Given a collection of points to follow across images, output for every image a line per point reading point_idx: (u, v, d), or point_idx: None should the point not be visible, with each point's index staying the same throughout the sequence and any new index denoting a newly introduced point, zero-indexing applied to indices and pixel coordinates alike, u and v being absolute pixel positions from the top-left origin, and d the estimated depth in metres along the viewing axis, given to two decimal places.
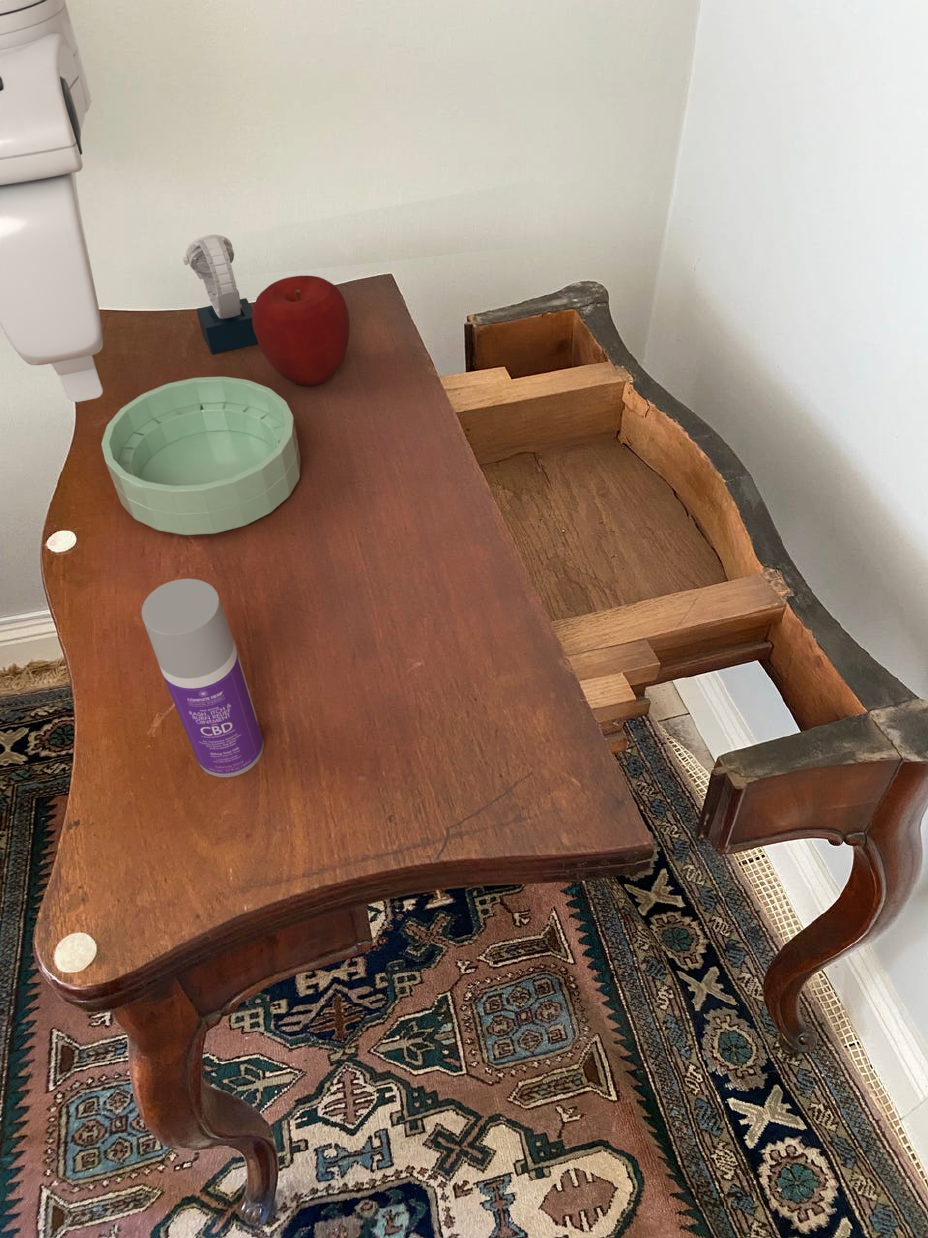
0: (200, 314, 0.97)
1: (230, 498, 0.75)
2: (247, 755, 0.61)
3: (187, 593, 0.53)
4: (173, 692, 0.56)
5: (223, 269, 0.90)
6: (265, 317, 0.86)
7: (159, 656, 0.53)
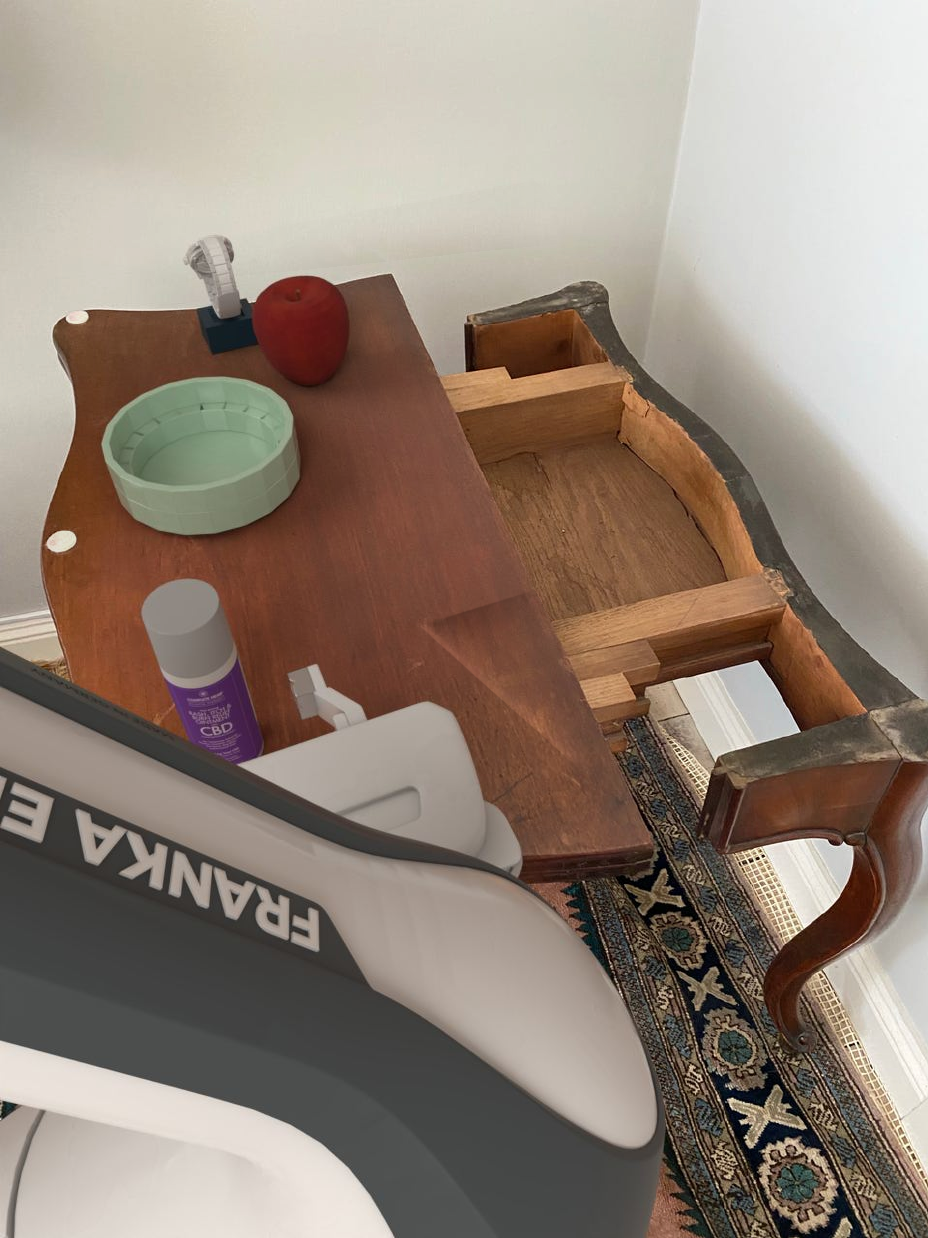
0: (200, 314, 0.97)
1: (230, 498, 0.75)
2: (247, 755, 0.61)
3: (187, 593, 0.53)
4: (173, 692, 0.56)
5: (223, 269, 0.90)
6: (265, 317, 0.86)
7: (159, 656, 0.53)
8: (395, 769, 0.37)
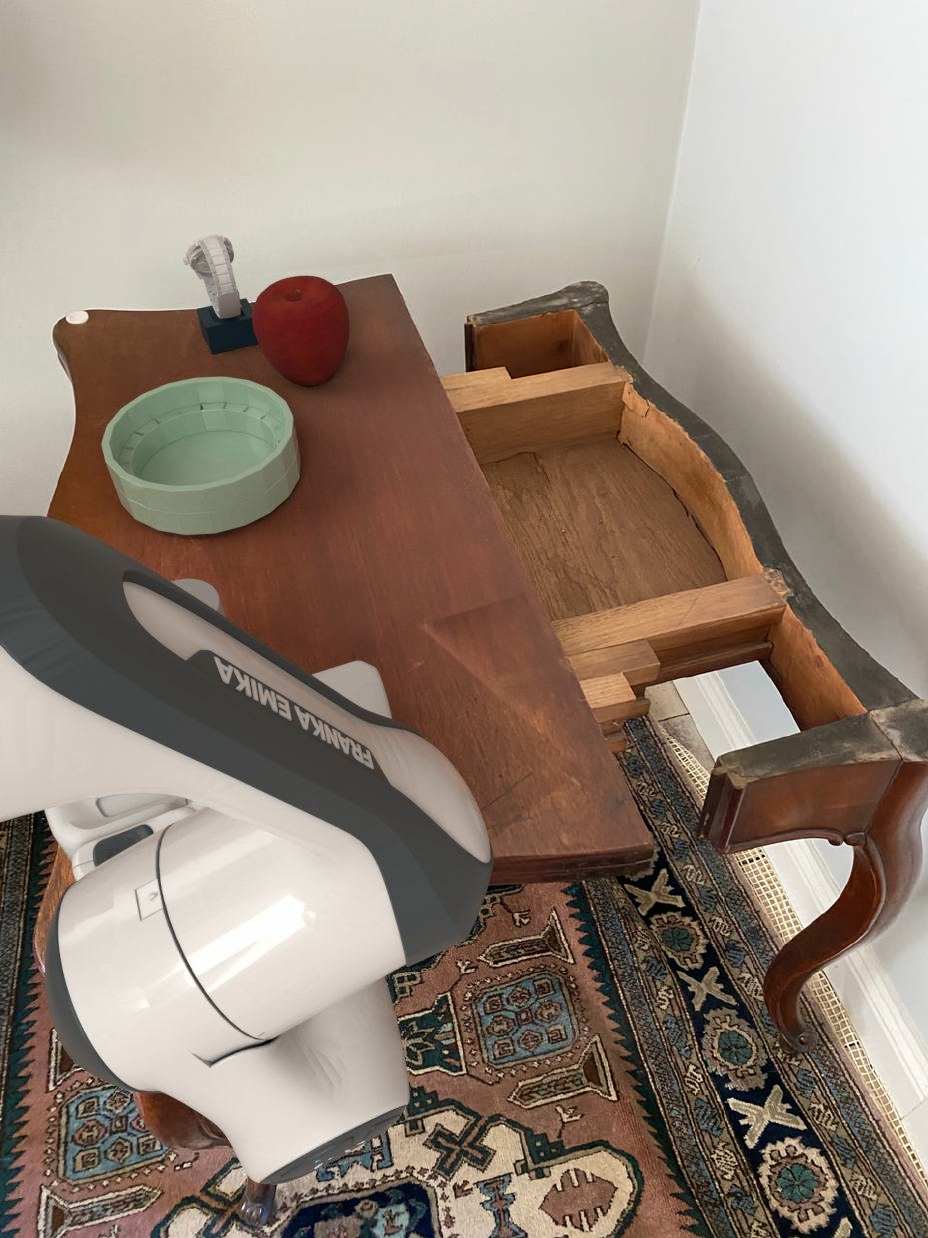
0: (200, 314, 0.97)
1: (230, 498, 0.75)
2: None
3: None
4: None
5: (223, 269, 0.90)
6: (265, 317, 0.86)
7: None
8: None
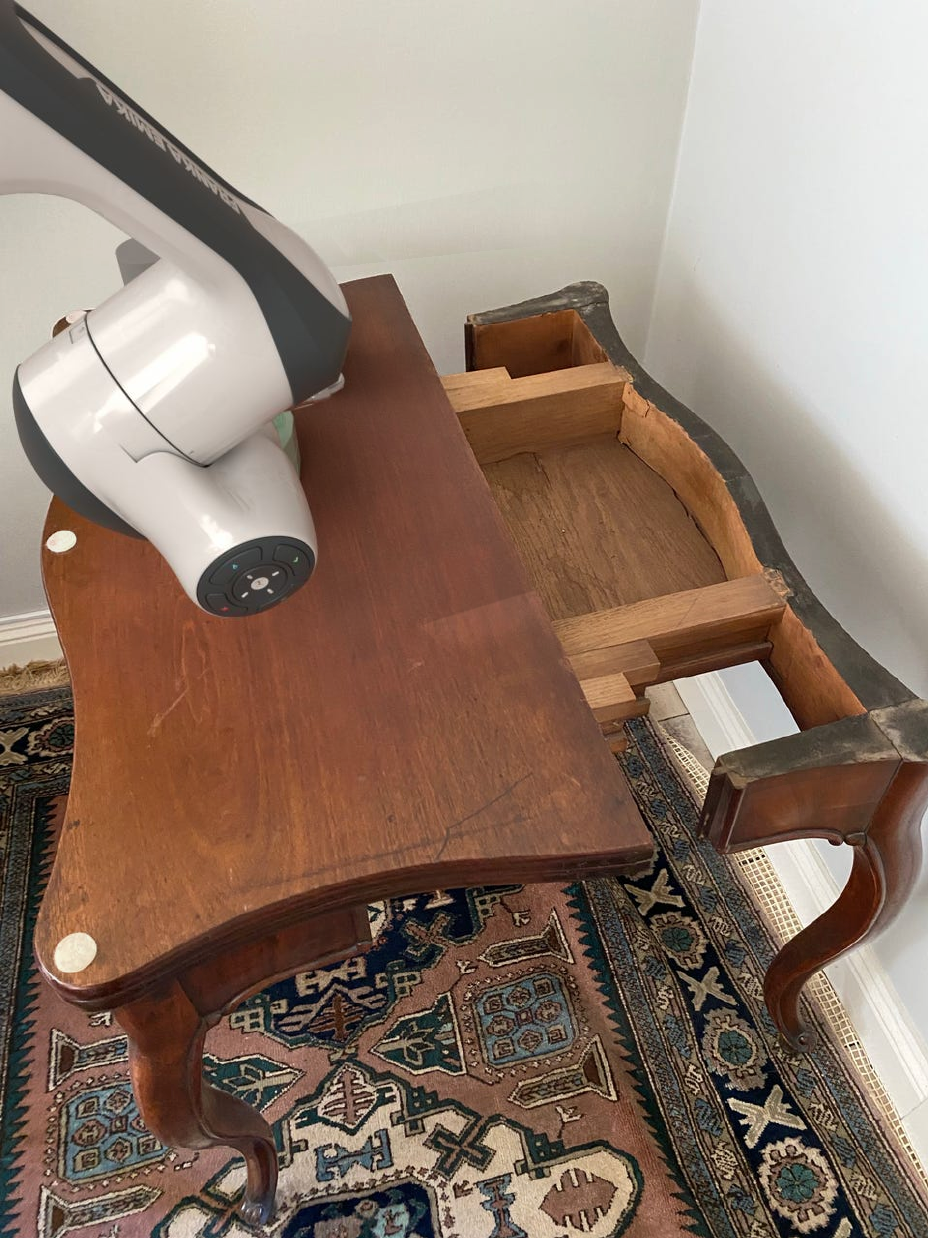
0: None
1: None
2: None
3: None
4: None
5: None
6: None
7: None
8: None
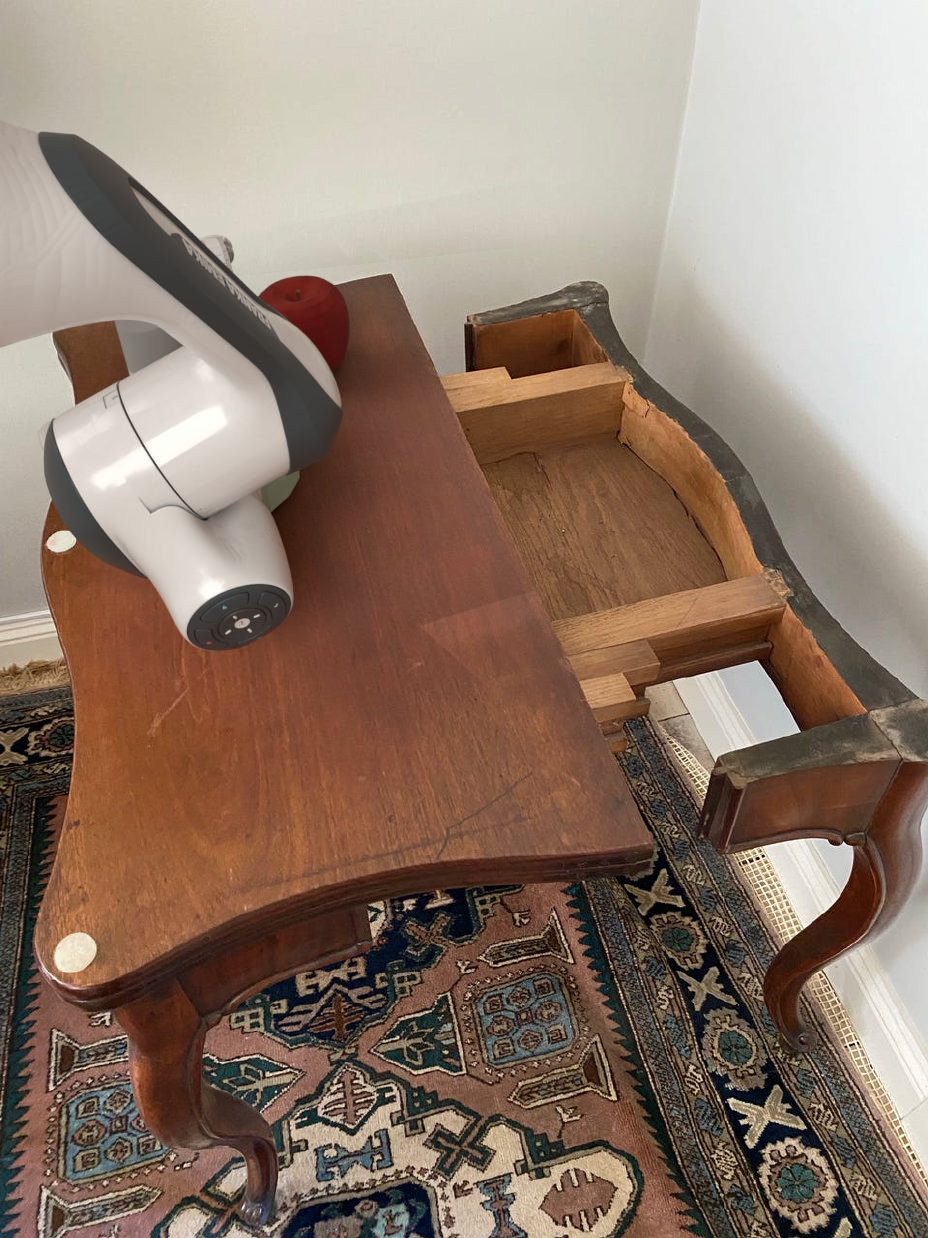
0: None
1: None
2: None
3: None
4: None
5: None
6: None
7: (128, 357, 0.72)
8: None
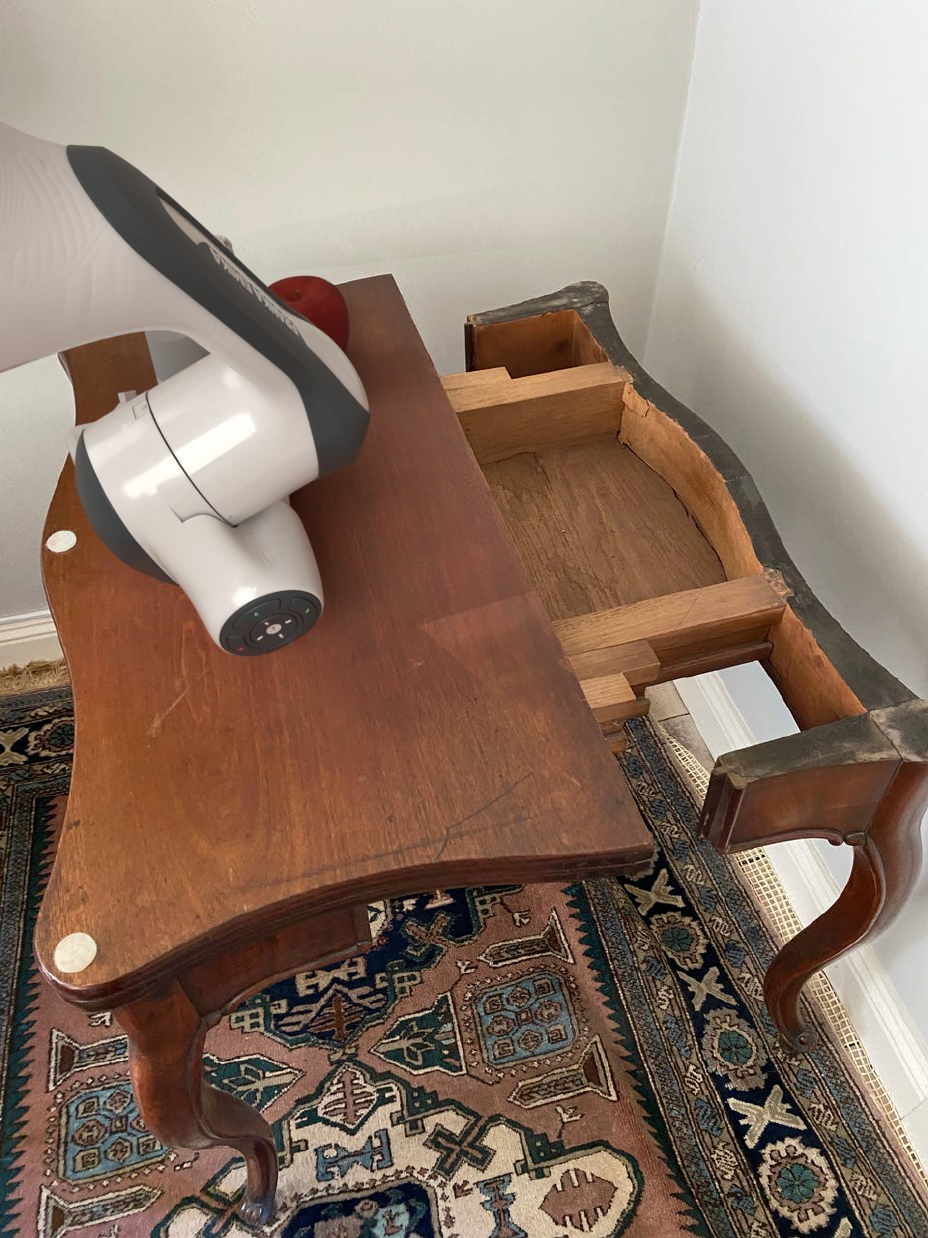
0: None
1: None
2: None
3: None
4: None
5: None
6: None
7: (157, 365, 0.72)
8: None
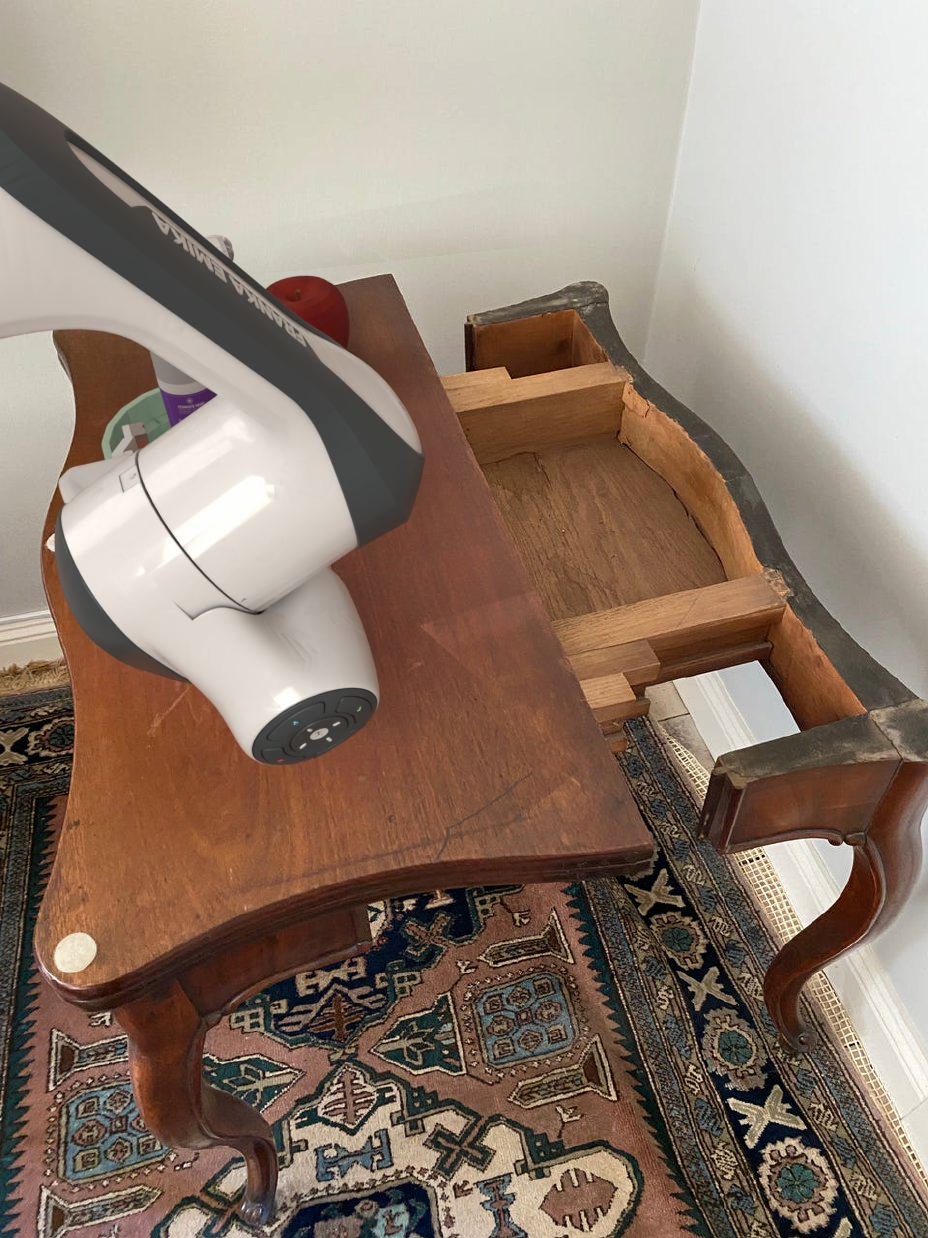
0: None
1: None
2: None
3: None
4: (167, 402, 0.75)
5: None
6: None
7: (157, 365, 0.72)
8: None
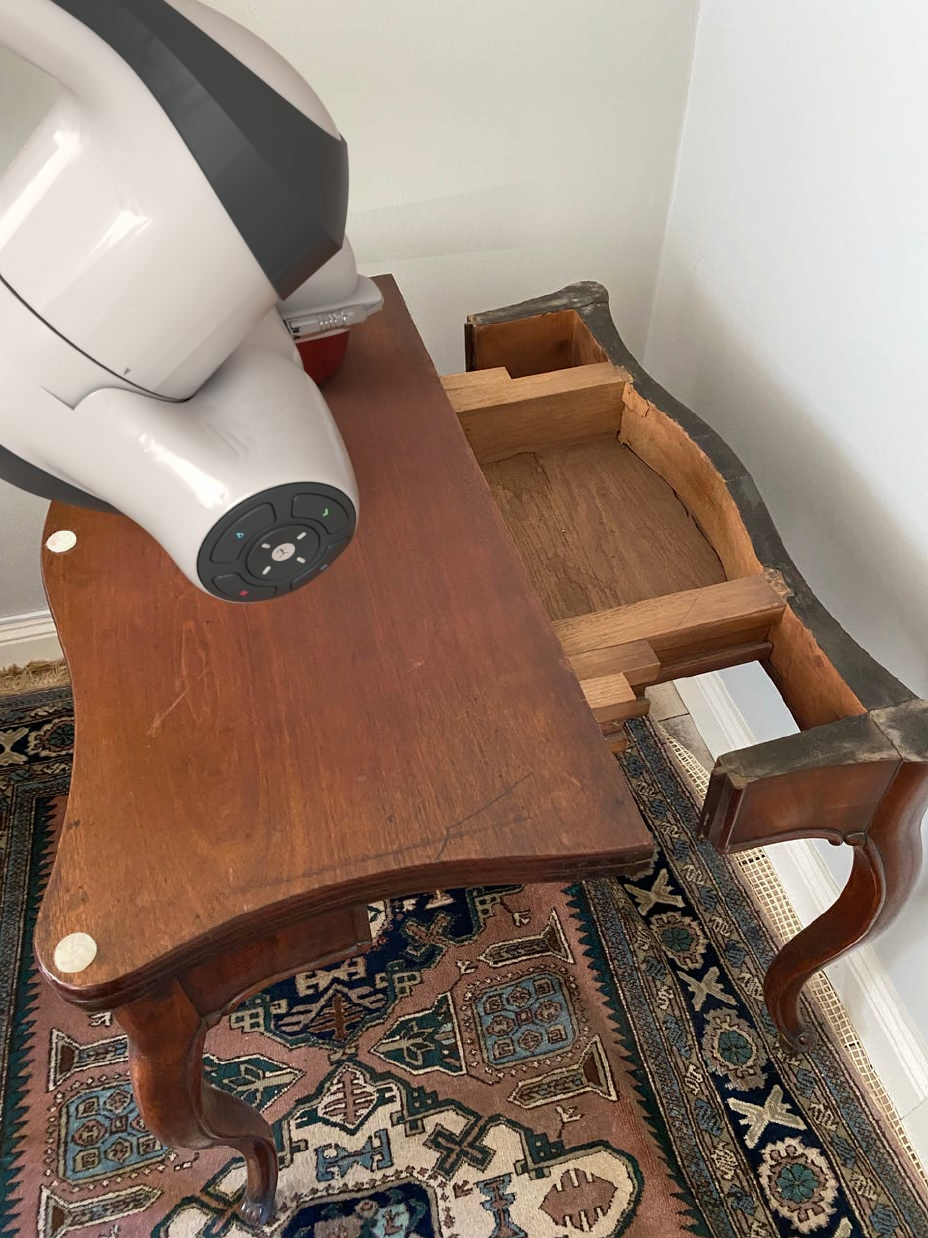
0: None
1: None
2: None
3: None
4: None
5: None
6: None
7: None
8: None
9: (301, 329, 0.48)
